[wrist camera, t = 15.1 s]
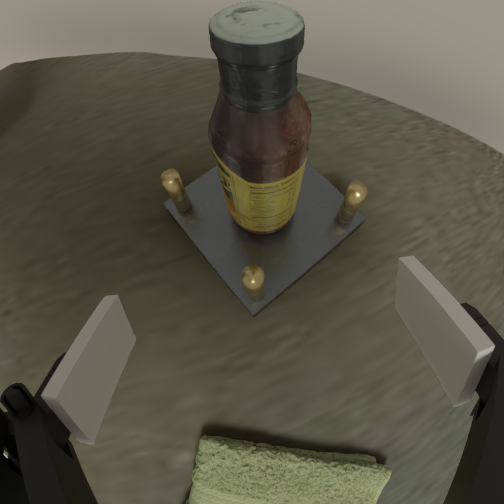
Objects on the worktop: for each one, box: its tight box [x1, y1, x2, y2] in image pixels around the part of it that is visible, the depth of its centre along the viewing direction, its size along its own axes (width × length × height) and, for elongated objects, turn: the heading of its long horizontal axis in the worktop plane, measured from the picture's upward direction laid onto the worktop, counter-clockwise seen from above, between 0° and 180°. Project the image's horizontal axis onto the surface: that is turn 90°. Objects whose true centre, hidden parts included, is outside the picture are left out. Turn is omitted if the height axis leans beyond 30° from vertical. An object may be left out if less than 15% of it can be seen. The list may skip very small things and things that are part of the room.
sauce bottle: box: [208, 1, 311, 235], centre depth 20 cm, size 6×6×20 cm
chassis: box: [160, 161, 368, 317], centre depth 27 cm, size 14×14×6 cm
